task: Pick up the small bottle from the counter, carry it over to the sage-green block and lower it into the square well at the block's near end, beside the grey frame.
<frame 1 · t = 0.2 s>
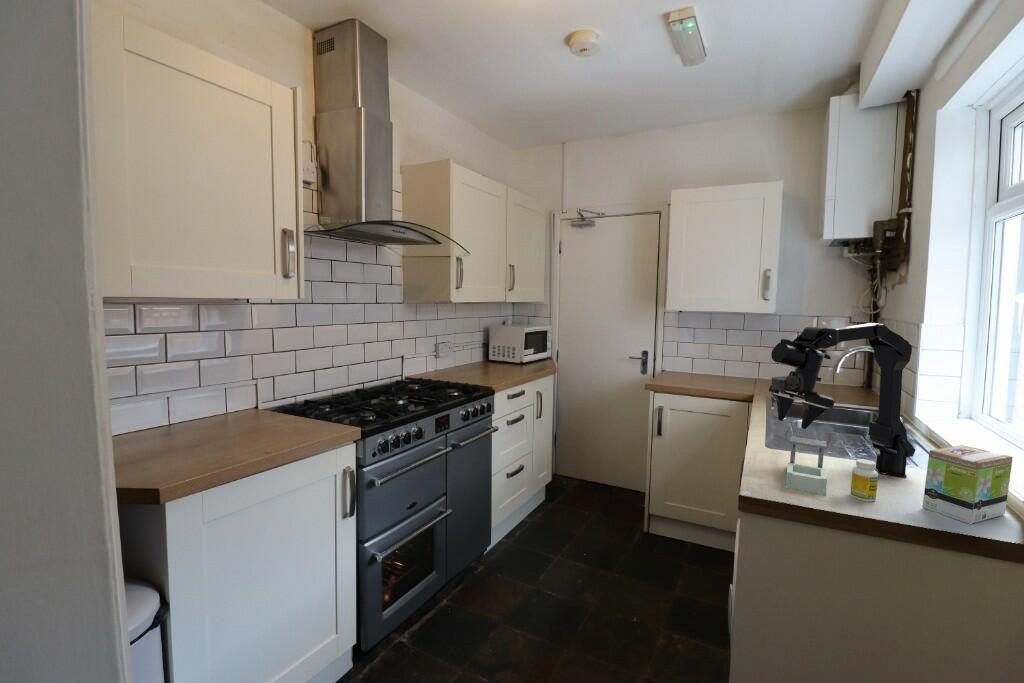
hand: (791, 424, 134), 15 cm above the countertop, tool pointing down, fingers open, 9 cm apart
socket block: (805, 479, 134), on the countertop
tea box: (963, 512, 115), on the countertop
supplement bottle: (862, 498, 122), on the countertop
grey frame: (805, 472, 140), resting on socket block
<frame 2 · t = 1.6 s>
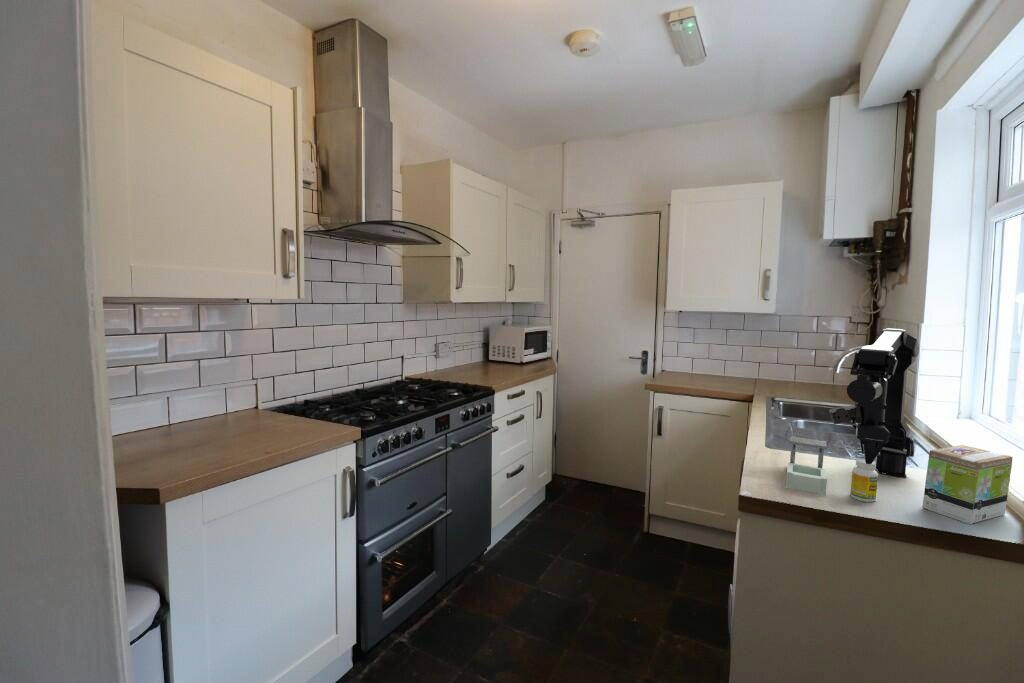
hand: (866, 458, 121), 10 cm above the countertop, tool pointing down, fingers open, 9 cm apart
nothing on the countertop moved.
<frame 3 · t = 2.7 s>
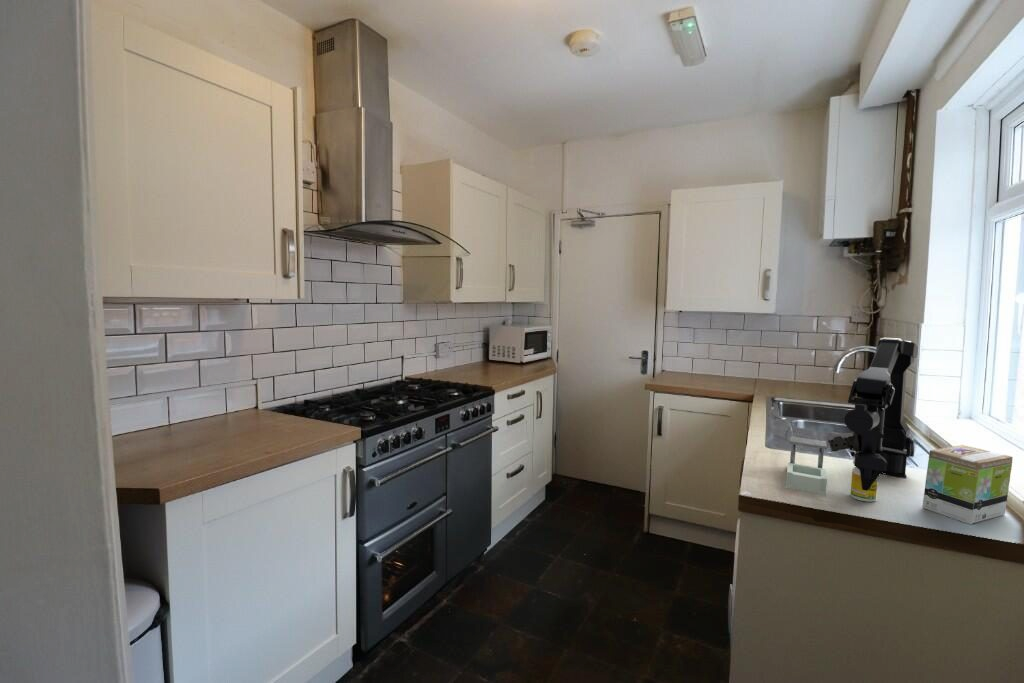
hand: (863, 486, 122), 3 cm above the countertop, tool pointing down, fingers closed on supplement bottle, 5 cm apart
supplement bottle: (862, 498, 122), on the countertop, touching gripper
everything else where it was.
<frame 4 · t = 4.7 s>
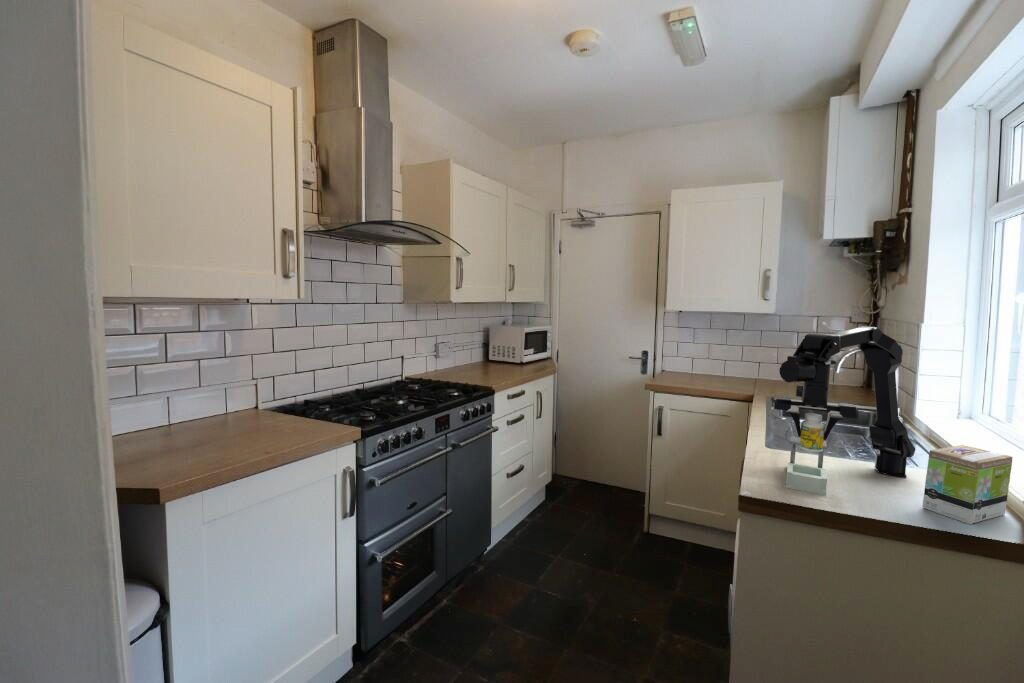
hand: (811, 438, 129), 13 cm above the countertop, tool pointing down, fingers closed on supplement bottle, 5 cm apart
supplement bottle: (810, 450, 129), point 10 cm above the countertop, touching gripper
everything else where it was.
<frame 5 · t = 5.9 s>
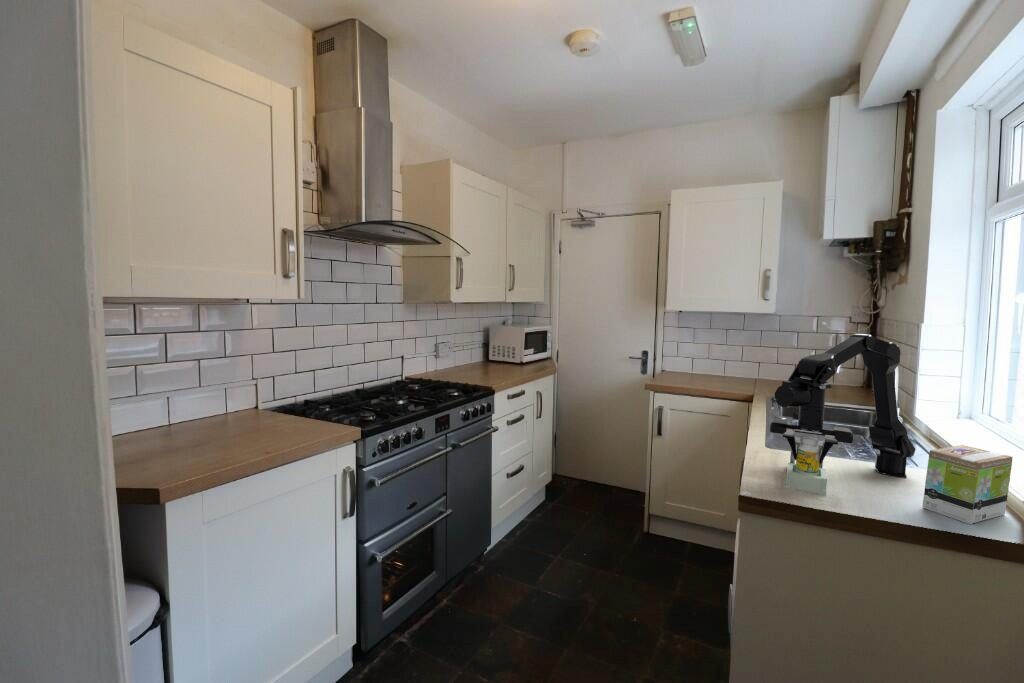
hand: (807, 461, 130), 6 cm above the countertop, tool pointing down, fingers closed on supplement bottle, 5 cm apart
supplement bottle: (806, 473, 130), point 3 cm above the countertop, touching gripper
everything else where it was.
when the fingers open (5 cm above the countertop, at t = 6.6 s): supplement bottle drops 1 cm, resting on socket block.
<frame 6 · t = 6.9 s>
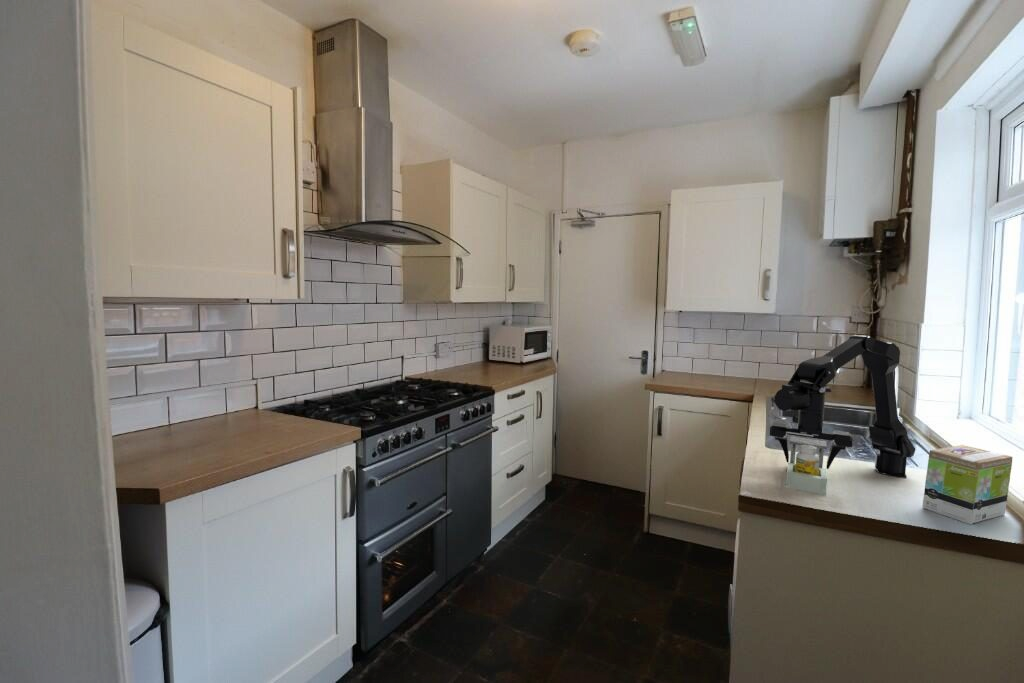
hand: (807, 465, 130), 5 cm above the countertop, tool pointing down, fingers open, 9 cm apart
supplement bottle: (805, 481, 130), point 1 cm above the countertop, touching socket block
everything else where it was.
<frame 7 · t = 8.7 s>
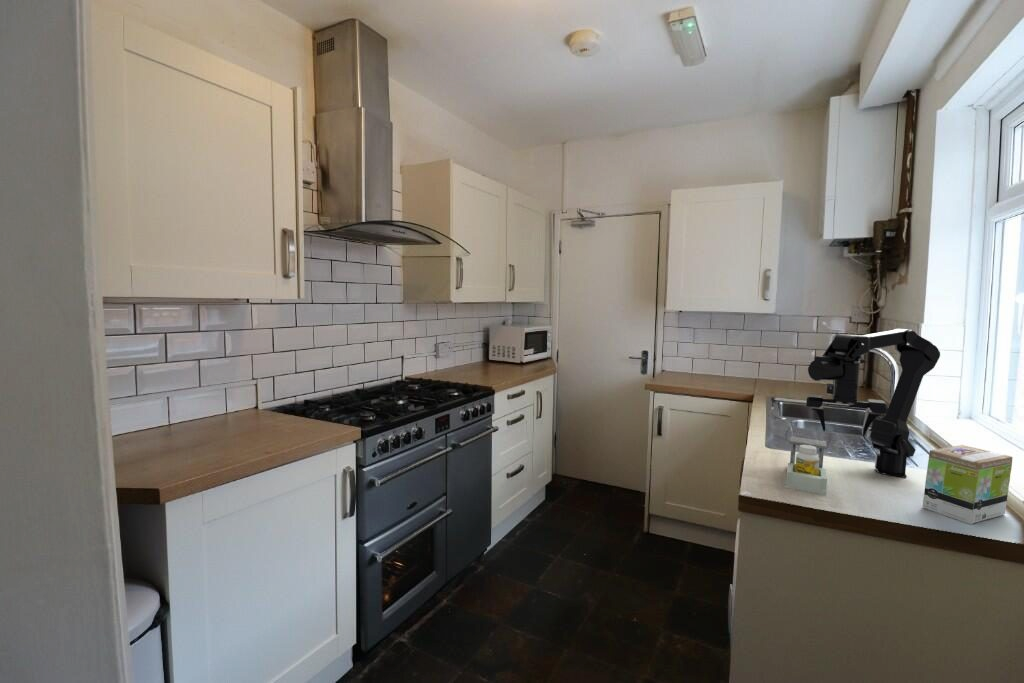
hand: (843, 433, 137), 13 cm above the countertop, tool pointing down, fingers open, 9 cm apart
nothing on the countertop moved.
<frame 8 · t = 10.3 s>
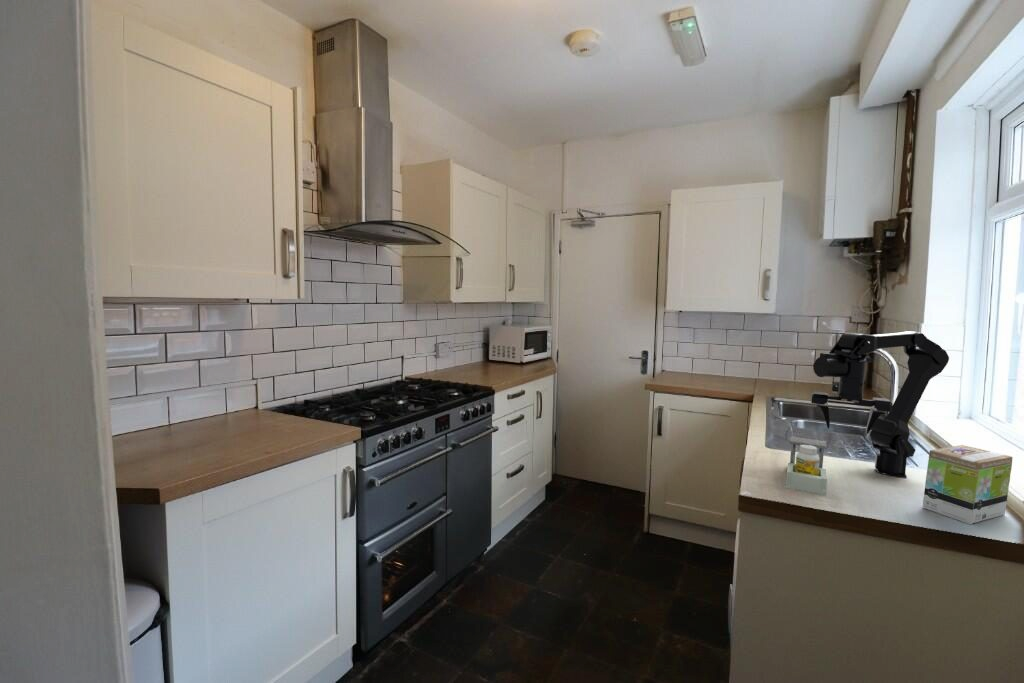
hand: (847, 430, 138), 13 cm above the countertop, tool pointing down, fingers open, 9 cm apart
nothing on the countertop moved.
at the end: supplement bottle 0.1 cm from the target spot, point 0.8 cm above the countertop; supplement bottle tilted 0°; the gripper is holding nothing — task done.
